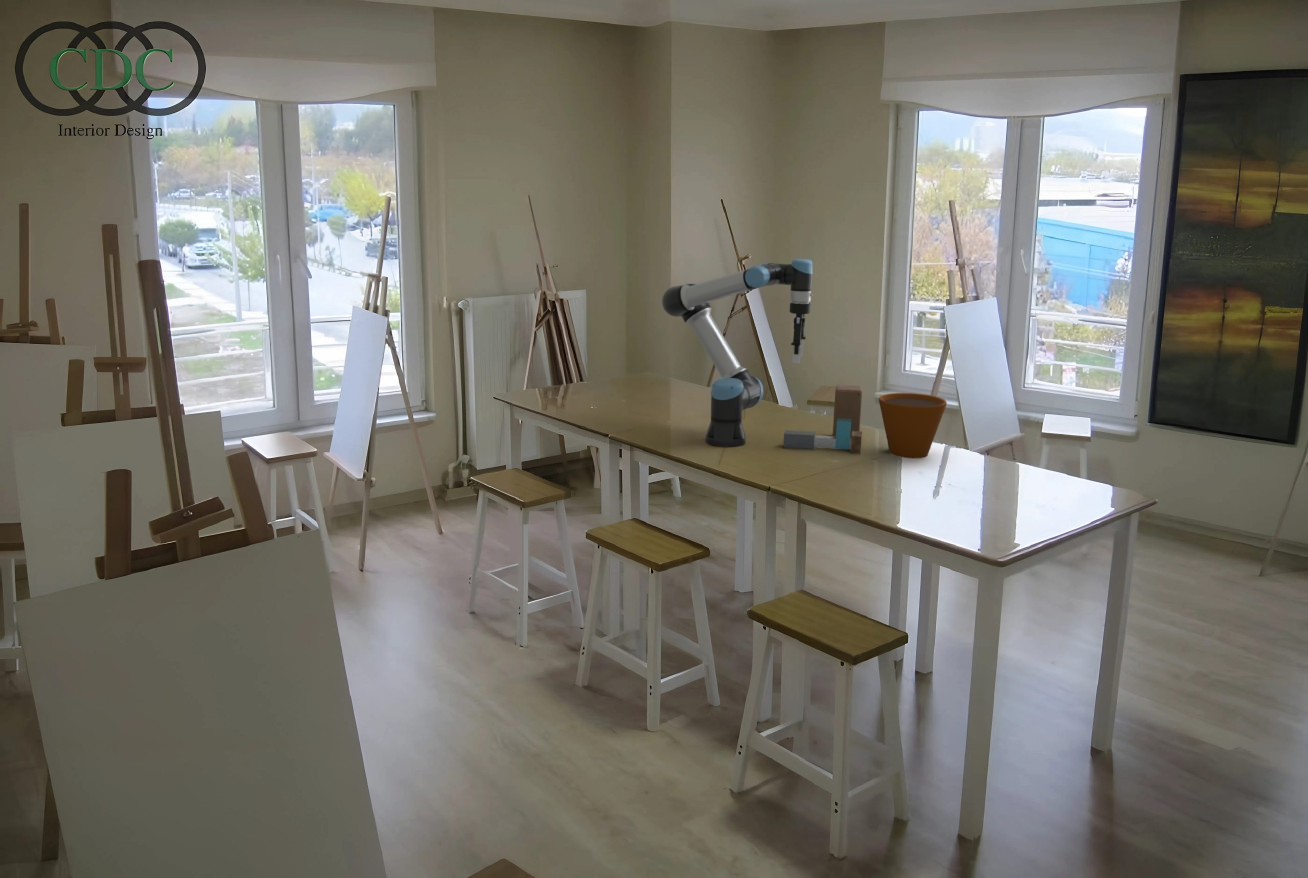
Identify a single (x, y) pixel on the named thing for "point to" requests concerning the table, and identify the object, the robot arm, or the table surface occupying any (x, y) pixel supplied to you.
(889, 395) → the flower pot
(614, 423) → the table surface
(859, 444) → the socket
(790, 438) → the grey rectangular block
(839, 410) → the wooden block
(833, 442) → the teal square post
